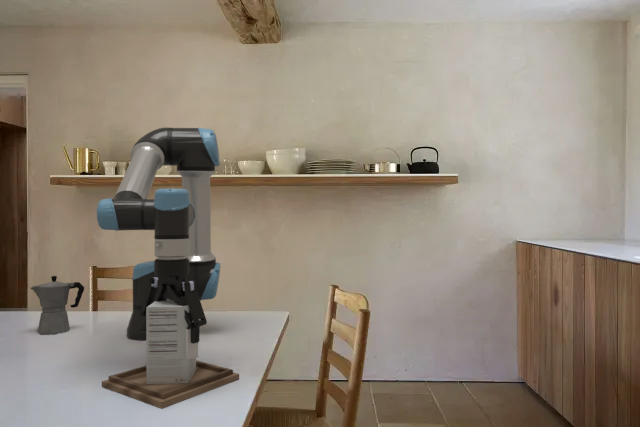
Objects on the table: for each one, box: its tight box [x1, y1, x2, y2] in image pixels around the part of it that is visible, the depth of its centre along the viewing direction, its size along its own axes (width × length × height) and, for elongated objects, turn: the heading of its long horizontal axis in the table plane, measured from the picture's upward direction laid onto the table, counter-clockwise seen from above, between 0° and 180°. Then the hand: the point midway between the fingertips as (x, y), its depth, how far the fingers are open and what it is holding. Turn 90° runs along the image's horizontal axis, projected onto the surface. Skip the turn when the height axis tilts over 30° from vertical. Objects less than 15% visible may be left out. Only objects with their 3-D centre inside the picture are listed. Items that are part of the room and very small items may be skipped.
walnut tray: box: [101, 360, 240, 409], centre depth 110 cm, size 21×21×2 cm
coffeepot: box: [30, 275, 85, 336], centre depth 159 cm, size 15×9×18 cm, turn 113°
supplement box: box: [145, 299, 197, 384], centre depth 110 cm, size 10×9×17 cm
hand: (171, 352), depth 110 cm, fingers open, 13 cm apart
